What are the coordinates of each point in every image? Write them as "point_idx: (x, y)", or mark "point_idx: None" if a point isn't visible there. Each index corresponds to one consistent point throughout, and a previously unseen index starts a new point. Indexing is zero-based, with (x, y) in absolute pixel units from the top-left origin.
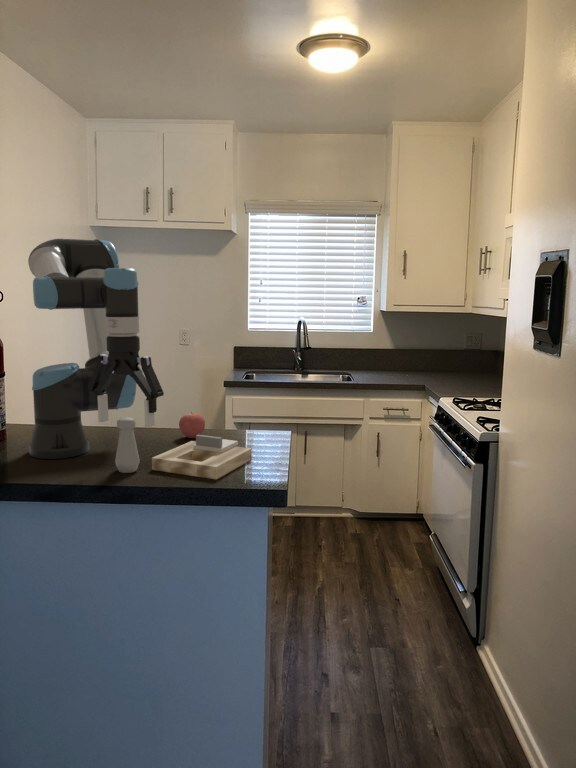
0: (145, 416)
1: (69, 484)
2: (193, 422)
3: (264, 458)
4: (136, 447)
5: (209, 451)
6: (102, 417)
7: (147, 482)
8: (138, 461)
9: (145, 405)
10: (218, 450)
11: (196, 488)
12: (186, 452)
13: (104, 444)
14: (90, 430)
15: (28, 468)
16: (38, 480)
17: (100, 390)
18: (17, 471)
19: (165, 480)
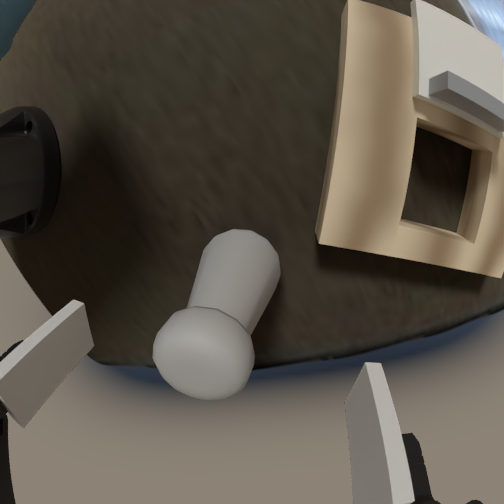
0: (353, 445)
1: None
2: None
3: None
4: (266, 283)
5: (467, 124)
6: (80, 349)
7: (345, 328)
8: (279, 267)
9: (360, 497)
10: (493, 133)
11: (451, 327)
12: (410, 146)
13: (61, 67)
14: None
15: (55, 290)
16: (118, 350)
17: (6, 443)
18: (57, 309)
19: (383, 305)
